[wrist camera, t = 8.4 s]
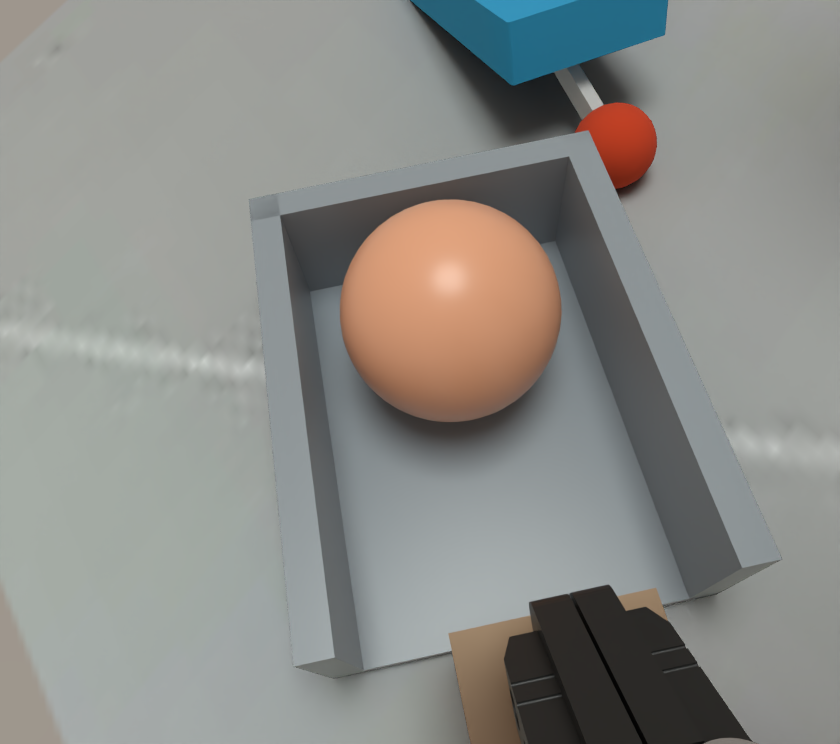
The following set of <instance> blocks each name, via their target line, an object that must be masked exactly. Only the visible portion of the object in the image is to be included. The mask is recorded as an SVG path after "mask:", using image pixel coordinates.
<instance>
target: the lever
mask: <svg viewBox="0 0 840 744" xmlns="http://www.w3.org/2000/svg"><path fill="white" fill-rule="evenodd" d="M411 1H412V2H413V3H414V4H415V5H416V6H418V7H419V8H420V9H421V10H422V11H424V12H425V13H426V14H427V15H428V16H430V17H431V18H432V19H433V20H434V21H436V22H437V23H438V24H439V25H440V26H441V27H443V28H444V29H445V30H446V31H447V32H449V33H450V34H451V35H452V36H453V37H455V38H456V39H457V40H458V41H459V42H460V43H462V44H463V45H464V46H465V47H466V48H468V49H469V50H470V51H471V52H472V53H474V54H475V55H476V56H477V57H478V58H480V59H481V60H482V61H483V62H484V63H485V64H487V65H488V66H489V67H490V68H491V69H493V70H494V71H495V72H496V73H497V74H499V75H500V76H501V77H502V78H503V79H505V80H506V81H507V82H508V83H509V84H510V85H517V84H520V83H523V82H526V81H529V80H532V79H535V78H538V77H541V76H544V75H547V74H550V73H553V72H554V73H555V75H556V77H557V79H558V80H559V82H560V84H561V85H562V87H563V89H564V90H565V92H566V94H567V95H568V97H569V99H570V101H571V102H572V104H573V106H574V107H575V109H576V111H577V112H578V114H579V116H580V117H581V119H582V121H581V122H580V124H579V126H578V127H577V129H576V131H575V133H577V132H582V131H587V130H589V133H590V135H591V137H592V139H593V141H594V144H595V146H596V148H597V150H598V152H599V155H600V157H601V159H602V161H603V163H604V166H605V168H606V170H607V172H608V175H609V177H610V179H611V181H612V183H613V186H614V188H615V189H618V188H623V187H625V186H628V185H629V184H631V183H633V182H635V181H637V180H638V179H639V178H640V177H641V176H642V175H643V174H644V173H645V172H646V171H647V170H648V168H649V167H650V165H651V164H652V162H653V159H654V156H655V152H656V148H657V136H656V132H655V129H654V126H653V124H652V121H651V120H650V119H649V118H648V116H647V115H646V114H645V113H644V112H643V111H642V110H640V109H639V108H637V107H635V106H633V105H631V104H627V103H617V102H616V103H611V104H606V105H604V104H603V103H602V101H601V99H600V98H599V96H598V95H597V93H596V91H595V90H594V88H593V86H592V85H591V83H590V81H589V80H588V78H587V77H586V75H585V73H584V72H583V70H582V68H581V67H580V65H579V64H580V63H583V62H586V61H589V60H592V59H595V58H598V57H601V56H603V55H606V54H609V53H612V52H615V51H618V50H621V49H624V48H627V47H630V46H633V45H636V44H639V43H642V42H645V41H648V40H651V39H654V38H657V37H660V36H663V35H665V29H666V18H667V7H668V0H411Z"/></svg>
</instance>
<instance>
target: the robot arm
mask: <svg viewBox="0 0 840 744" xmlns="http://www.w3.org/2000/svg"><path fill="white" fill-rule="evenodd" d="M529 610H530V616H531V622H532V628H533V632H529V633H524V634H520V635H515V636H511V637H509V640H508V644H507V648H506V652H505V656H504V664H505V669H506V674H507V679H508V685H509V690H510V695H511V700H512V706H513V711H514V716H515V721H516V727H517V730H518V734H519V737H520V741H521V744H757V743H754V742H752V740H751V739H750V738H749V737H748V735H747V734H746V733H745V731H744V730H743V728H742V727H741V725H740V724H739V722H738V721H737V719H736V718H735V717H734V715H733V714H732V712H731V711H730V709H729V708H728V706H727V705H726V703H725V702H724V701H723V699H722V698H721V696H720V695H719V693H718V692H717V690H716V689H715V687H714V686H713V685H712V683H711V682H710V680H709V679H708V677H707V676H706V674H705V673H704V672H703V670H702V669H701V667H699V666H698V664H697V661H696V660H695V658H694V657H693V656H692V654H691V653H690V651H689V650H688V649H686V647H685V644H684V642H683V641H682V640H681V638H680V637H679V635H678V634H677V632H676V631H675V629H674V628H673V626H672V625H671V624H670V622H668V621H667V620H665V619H664V618H662V617H661V616H659V615H658V614H656V613H655V612H653V611H652V610H650V609H649V608H647V607H641V608H637V609H632V610H628V611H626V610H625V608H624V607H623V605H622V603H621V602H620V600H619V598H618V597H617V595H616V593H615V592H614V590H613V589H612V587H611V586H610V585H609V584H608V585H603V586H598V587H594V588H589V589H585V590H580V591H576V592H571V593H570V594H563V595H558V596H554V597H549V598H544V599H540V600H535V601H531V602H529Z"/></svg>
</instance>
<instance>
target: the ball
mask: <svg viewBox="0 0 840 744" xmlns="http://www.w3.org/2000/svg"><path fill="white" fill-rule="evenodd" d="M561 316H562V309H561V296H560V290H559V285H558V281H557V278H556V275H555V271H554V268H553V266H552V264H551V262H550V260H549V258H548V256H547V254H546V253H545V251H544V250H543V248H542V247H541V245H540V244H539V242H538V241H537V240H536V239H535V238H534V237H533V236H532V234H531V233H530V232H529V231H528V230H527V229H526V228H524V227H523V226H522V225H521V224H520V223H519V222H517V221H516V220H515V219H513V218H511V217H510V216H508V215H507V214H505V213H503V212H501V211H499V210H497V209H495V208H492V207H490V206H487V205H484V204H480V203H477V202H472V201H466V200H435V201H429V202H425V203H421V204H418V205H415V206H412V207H410V208H407V209H405V210H403V211H401V212H399V213H397V214H395V215H394V216H392V217H390V218H389V219H388V220H386V221H385V222H383V223H382V224H381V225H379V226H378V227H377V228H376V229H375V230H374V231H373V232H372V233H371V234H370V235H369V236H368V237H367V238H366V240H365V241H364V242H363V244H362V245H361V246H360V247H359V249H358V251H357V252H356V254H355V256H354V258H353V259H352V261H351V263H350V265H349V268H348V270H347V273H346V275H345V278H344V282H343V286H342V290H341V298H340V325H341V331H342V337H343V340H344V344H345V347H346V350H347V352H348V355H349V357H350V359H351V361H352V363H353V365H354V367H355V368H356V370H357V372H358V373H359V375H360V376H361V378H362V379H363V380H364V381H365V383H366V384H367V385H368V386H369V387H370V388H371V389H372V390H373V391H374V392H375V393H376V394H377V395H378V396H380V397H381V398H382V399H383V400H384V401H386V402H387V403H389V404H391V405H392V406H394V407H395V408H397V409H399V410H401V411H403V412H405V413H408V414H410V415H412V416H415V417H418V418H422V419H426V420H431V421H437V422H462V421H469V420H474V419H478V418H482V417H485V416H488V415H491V414H493V413H496V412H498V411H500V410H502V409H503V408H505V407H507V406H508V405H510V404H512V403H513V402H515V401H516V400H517V399H519V398H520V397H521V396H522V395H523V394H524V393H526V392H527V391H528V390H529V389H530V388H531V387H532V386H533V384H534V383H535V382H536V381H537V380H538V378H539V377H540V376H541V374H542V373H543V371H544V369H545V368H546V366H547V364H548V363H549V361H550V359H551V357H552V354H553V352H554V349H555V347H556V343H557V339H558V335H559V331H560V325H561Z"/></svg>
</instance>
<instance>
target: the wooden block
mask: <svg viewBox="0 0 840 744" xmlns="http://www.w3.org/2000/svg"><path fill="white" fill-rule="evenodd" d="M617 597H618V598H619V600H620V602H621V603H622V605H623V607H624V608H625V610H626V611H628V610H632V609H637V608H641V607H647V608H649V609H650V610H652V611H653V612H655V613H656V614H658V615H659V616H661V617H662V618H664V619H665V620H667V617H666V614H665V611H664V608H663V605H662V603H661V600H660V597H659V594H658V591H657V589H656V588H652V589H648V590H643V591H639V592H634V593H630V594H625V595H621V596H617ZM667 621H668V620H667ZM529 632H533V628H532V622H531V616H525V617H520V618H516V619H511V620H507V621H502V622H498V623H493V624H489V625H484V626H479V627H475V628H470V629H466V630H461V631H457V632H452V633H448V635H449V640H450V644H451V649H452V654H453V659H454V664H455V669H456V674H457V679H458V684H459V689H460V694H461V699H462V704H463V709H464V714H465V719H466V723H467V728H468V733H469V738H470V743H471V744H521V741H520V737H519V734H518V730H517V727H516V721H515V716H514V711H513V706H512V700H511V695H510V690H509V685H508V679H507V674H506V669H505V664H504V656H505V652H506V648H507V644H508V640H509V637H511V636H515V635H520V634H524V633H529Z"/></svg>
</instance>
